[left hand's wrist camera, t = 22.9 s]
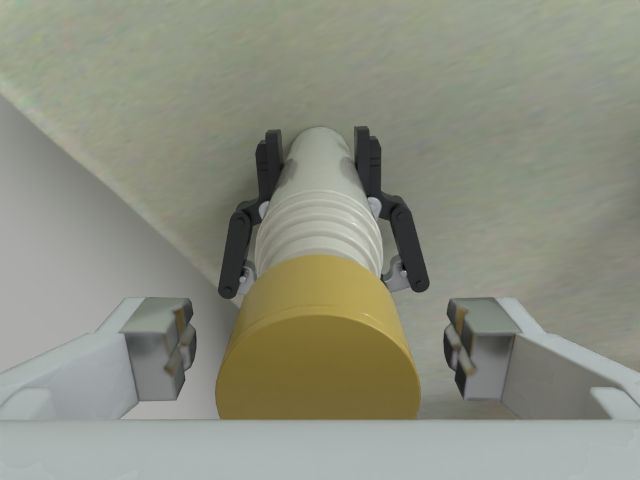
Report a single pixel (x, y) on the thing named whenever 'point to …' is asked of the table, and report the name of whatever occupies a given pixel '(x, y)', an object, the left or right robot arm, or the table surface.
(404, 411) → the cap
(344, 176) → the bottle
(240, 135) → the table surface
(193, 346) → the left robot arm
